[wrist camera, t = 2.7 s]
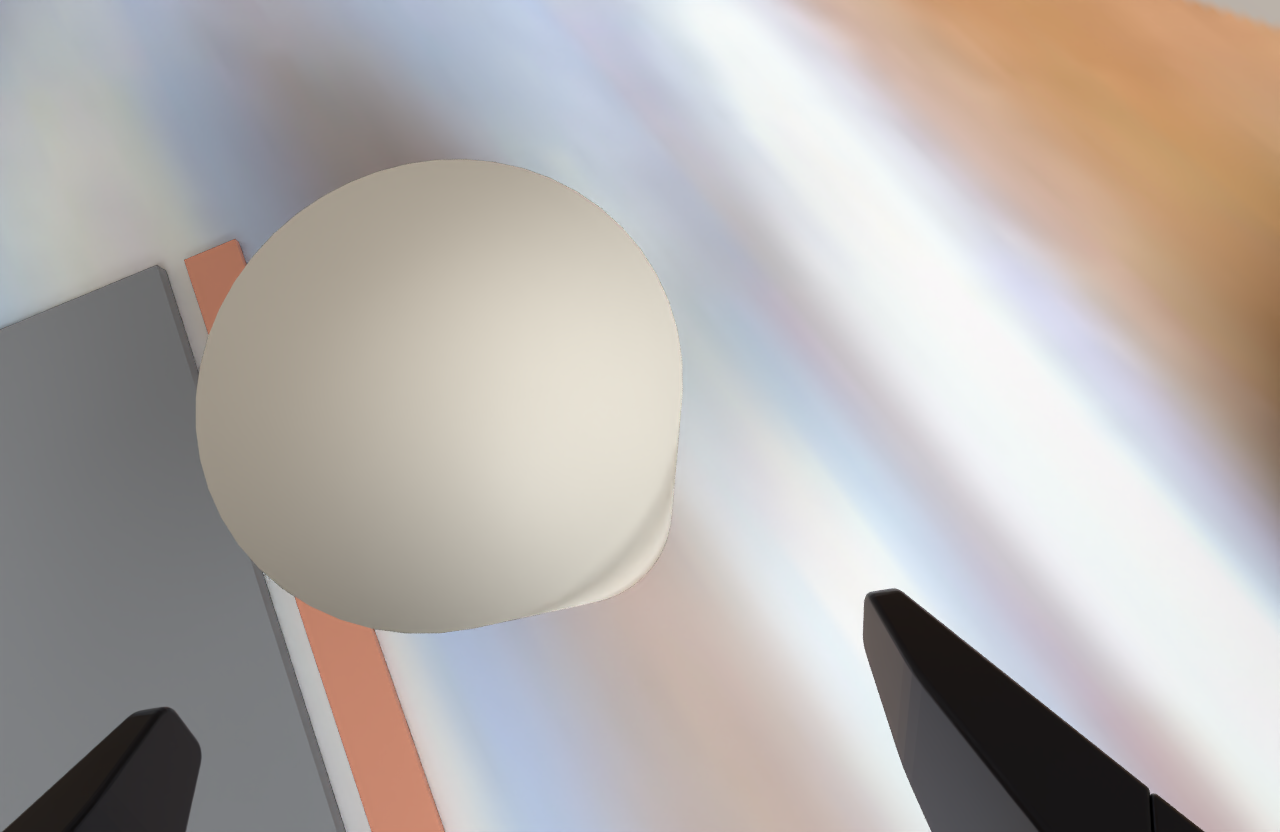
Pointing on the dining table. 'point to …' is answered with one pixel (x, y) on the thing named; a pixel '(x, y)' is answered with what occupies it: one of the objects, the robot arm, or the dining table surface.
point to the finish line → (346, 652)
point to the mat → (134, 572)
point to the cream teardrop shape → (445, 401)
